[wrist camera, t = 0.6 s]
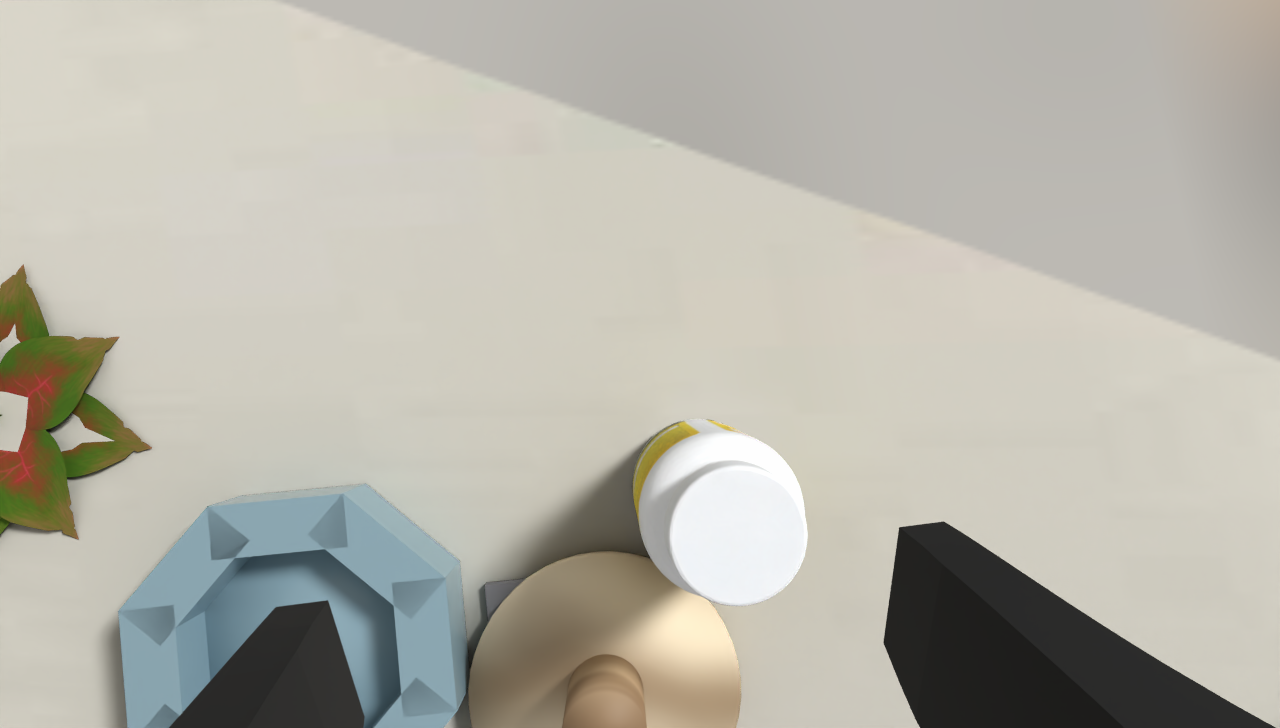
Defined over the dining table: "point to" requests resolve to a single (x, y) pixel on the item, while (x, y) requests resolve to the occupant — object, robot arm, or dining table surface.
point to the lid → (604, 652)
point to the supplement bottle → (719, 512)
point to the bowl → (294, 574)
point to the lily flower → (51, 414)
